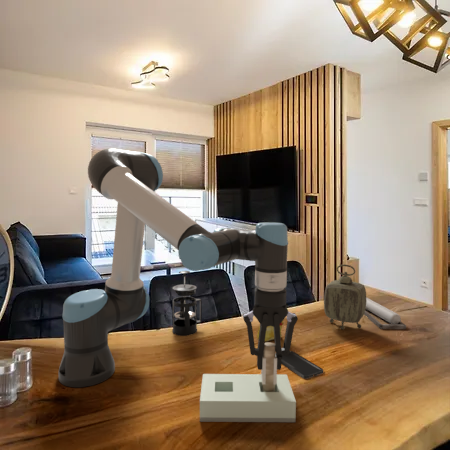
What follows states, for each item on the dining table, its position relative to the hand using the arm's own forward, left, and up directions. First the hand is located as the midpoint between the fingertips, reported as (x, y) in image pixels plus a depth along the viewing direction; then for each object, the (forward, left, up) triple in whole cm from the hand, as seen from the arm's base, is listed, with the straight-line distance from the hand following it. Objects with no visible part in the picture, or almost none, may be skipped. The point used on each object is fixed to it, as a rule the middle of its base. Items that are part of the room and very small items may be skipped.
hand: (268, 381), depth 86 cm
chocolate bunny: (+6, +41, -7) cm, 42 cm away
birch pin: (0, 0, -5) cm, 5 cm away
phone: (+12, +21, -7) cm, 25 cm away
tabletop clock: (+36, +51, -7) cm, 62 cm away
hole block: (-5, 0, -6) cm, 8 cm away
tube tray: (+55, +65, -6) cm, 85 cm away
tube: (+55, +65, -7) cm, 86 cm away
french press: (-25, +47, -7) cm, 54 cm away
